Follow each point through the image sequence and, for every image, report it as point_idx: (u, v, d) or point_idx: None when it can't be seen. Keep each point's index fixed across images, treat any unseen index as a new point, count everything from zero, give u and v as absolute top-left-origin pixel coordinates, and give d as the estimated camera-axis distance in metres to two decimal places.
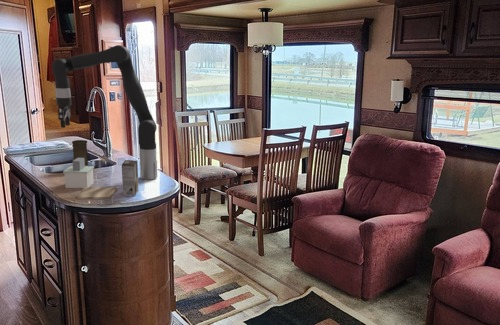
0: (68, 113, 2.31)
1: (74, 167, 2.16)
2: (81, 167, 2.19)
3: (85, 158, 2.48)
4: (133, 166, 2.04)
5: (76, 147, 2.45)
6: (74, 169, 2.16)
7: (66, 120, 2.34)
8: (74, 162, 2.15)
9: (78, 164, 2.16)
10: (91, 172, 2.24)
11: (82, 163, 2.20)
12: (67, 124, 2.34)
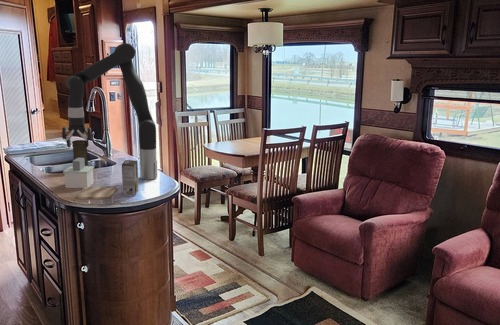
0: None
1: (74, 167, 2.16)
2: (81, 167, 2.19)
3: (85, 158, 2.48)
4: (133, 166, 2.04)
5: (76, 147, 2.45)
6: (74, 169, 2.16)
7: (69, 142, 2.16)
8: (74, 162, 2.15)
9: (78, 164, 2.16)
10: (91, 172, 2.24)
11: (82, 163, 2.20)
12: (70, 146, 2.17)
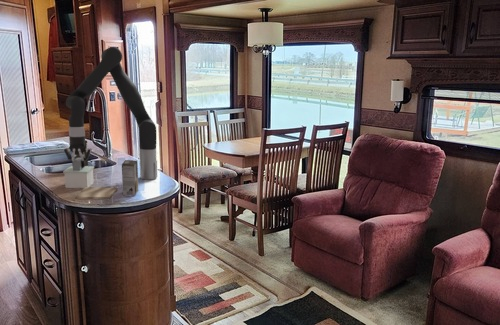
0: None
1: (74, 167, 2.16)
2: (81, 167, 2.19)
3: None
4: (133, 166, 2.04)
5: None
6: (74, 169, 2.16)
7: None
8: (74, 162, 2.15)
9: (78, 164, 2.16)
10: (91, 172, 2.24)
11: None
12: None
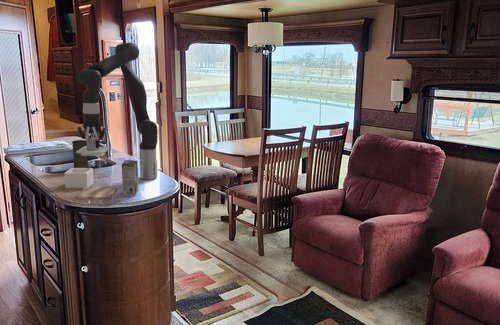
0: None
1: (88, 147, 2.00)
2: (95, 147, 2.03)
3: (85, 158, 2.48)
4: (133, 166, 2.04)
5: (76, 147, 2.45)
6: (88, 149, 2.00)
7: None
8: (88, 141, 2.00)
9: (92, 143, 2.00)
10: (91, 172, 2.24)
11: None
12: None
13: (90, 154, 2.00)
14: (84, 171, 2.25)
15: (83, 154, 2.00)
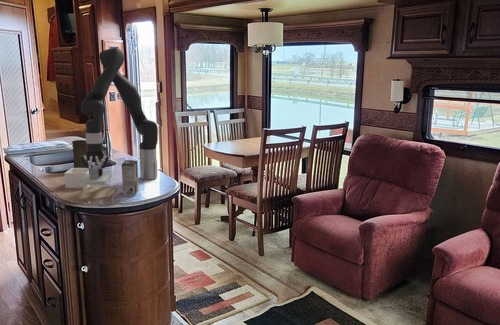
0: None
1: (91, 176, 2.02)
2: (98, 176, 2.05)
3: None
4: (133, 166, 2.04)
5: (76, 147, 2.45)
6: (91, 178, 2.03)
7: None
8: (91, 170, 2.02)
9: (95, 173, 2.02)
10: None
11: None
12: None
13: (93, 183, 2.03)
14: (84, 171, 2.25)
15: (86, 183, 2.03)
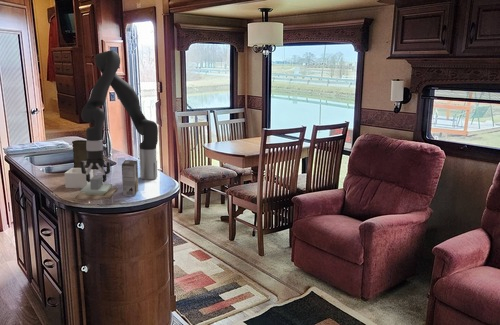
0: None
1: (92, 186, 2.03)
2: (99, 186, 2.06)
3: (85, 158, 2.48)
4: (133, 166, 2.04)
5: (76, 147, 2.45)
6: (92, 188, 2.04)
7: (89, 176, 2.06)
8: (92, 181, 2.03)
9: (96, 183, 2.03)
10: (91, 172, 2.24)
11: (100, 181, 2.08)
12: (89, 180, 2.07)
13: (94, 193, 2.04)
14: None
15: (87, 193, 2.04)
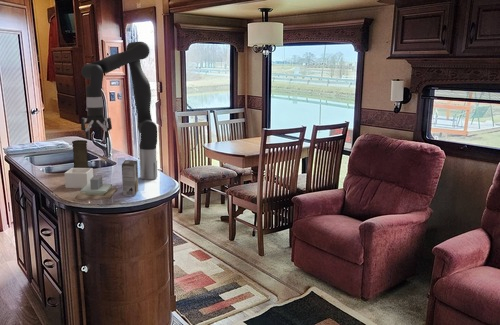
0: None
1: (92, 186, 2.03)
2: (99, 186, 2.06)
3: (85, 158, 2.48)
4: (133, 166, 2.04)
5: (76, 147, 2.45)
6: (92, 188, 2.04)
7: (88, 133, 2.08)
8: (92, 181, 2.03)
9: (96, 183, 2.03)
10: (91, 172, 2.24)
11: (100, 181, 2.08)
12: (89, 137, 2.09)
13: (94, 193, 2.04)
14: (84, 171, 2.25)
15: (87, 193, 2.04)
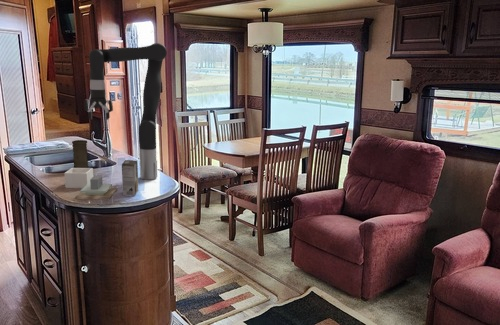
0: None
1: (92, 186, 2.03)
2: (99, 186, 2.06)
3: (85, 158, 2.48)
4: (133, 166, 2.04)
5: (76, 147, 2.45)
6: (92, 188, 2.04)
7: (91, 114, 2.23)
8: (92, 181, 2.03)
9: (96, 183, 2.03)
10: (91, 172, 2.24)
11: (100, 181, 2.08)
12: (91, 118, 2.24)
13: (94, 193, 2.04)
14: (84, 171, 2.25)
15: (87, 193, 2.04)
